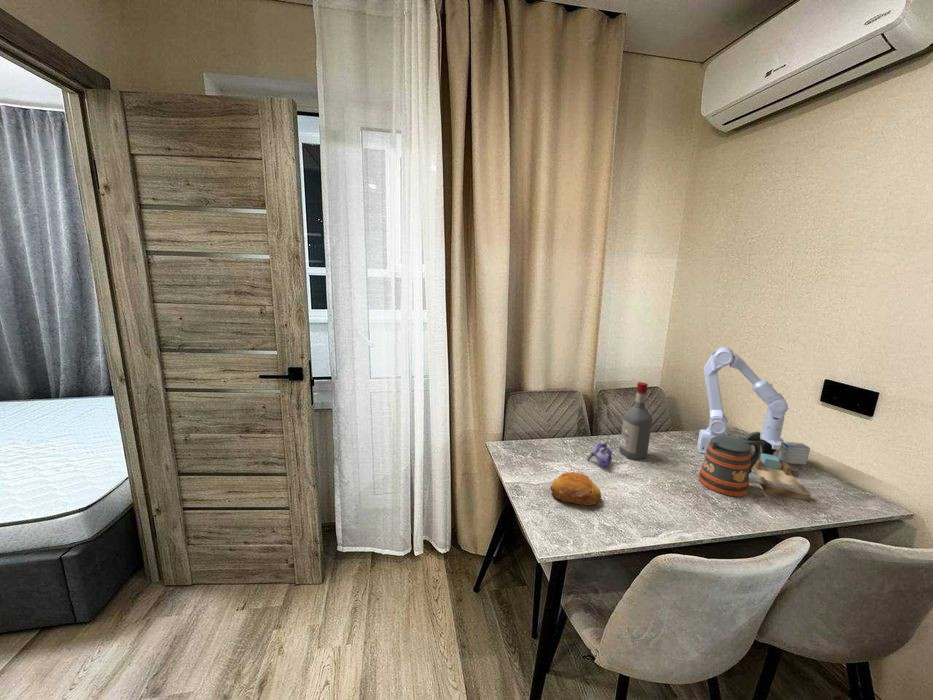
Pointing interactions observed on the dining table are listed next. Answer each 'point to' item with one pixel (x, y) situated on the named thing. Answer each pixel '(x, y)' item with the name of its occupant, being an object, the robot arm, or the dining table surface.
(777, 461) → the block
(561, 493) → the bread loaf
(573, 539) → the dining table surface
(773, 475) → the deck
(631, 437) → the liquor
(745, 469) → the beer stein
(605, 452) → the flower
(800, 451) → the medicine box
